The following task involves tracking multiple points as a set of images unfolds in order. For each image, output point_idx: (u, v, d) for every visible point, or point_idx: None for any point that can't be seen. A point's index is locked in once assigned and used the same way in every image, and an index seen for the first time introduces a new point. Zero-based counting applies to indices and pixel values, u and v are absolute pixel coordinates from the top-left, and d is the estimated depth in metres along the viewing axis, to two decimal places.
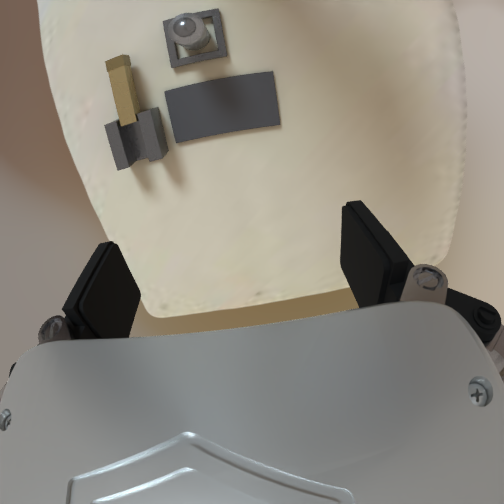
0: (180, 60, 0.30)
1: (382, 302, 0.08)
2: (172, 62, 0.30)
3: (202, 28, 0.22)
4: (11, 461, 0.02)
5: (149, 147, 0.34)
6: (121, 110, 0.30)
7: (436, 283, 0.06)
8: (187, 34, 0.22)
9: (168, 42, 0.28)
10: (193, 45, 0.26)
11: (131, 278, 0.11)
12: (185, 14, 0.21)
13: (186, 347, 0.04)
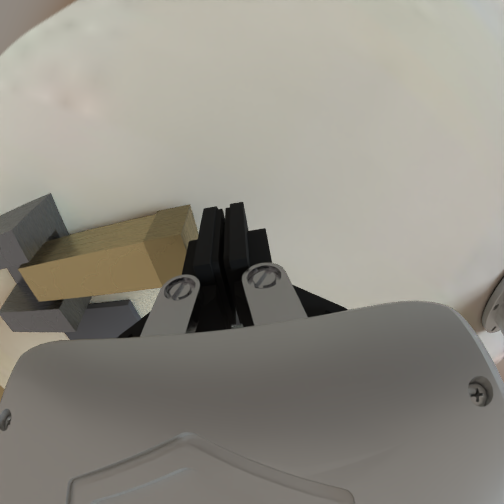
0: None
1: None
2: None
3: None
4: (11, 461, 0.02)
5: (16, 317, 0.13)
6: (46, 273, 0.11)
7: (273, 276, 0.08)
8: None
9: None
10: None
11: None
12: None
13: (186, 347, 0.04)
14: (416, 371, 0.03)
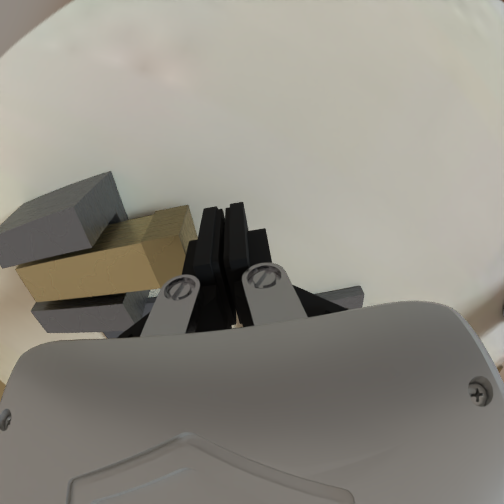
0: None
1: None
2: None
3: None
4: (11, 461, 0.02)
5: (55, 316, 0.12)
6: (44, 274, 0.11)
7: (274, 276, 0.08)
8: None
9: None
10: None
11: None
12: None
13: (186, 347, 0.04)
14: (416, 371, 0.03)
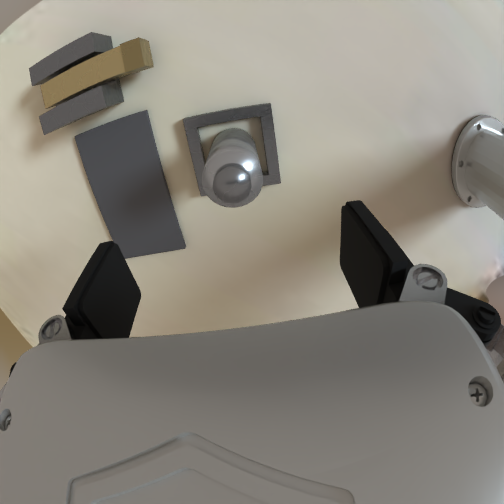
0: (194, 132, 0.22)
1: (381, 302, 0.08)
2: (190, 121, 0.22)
3: (229, 205, 0.19)
4: (11, 461, 0.02)
5: (55, 113, 0.17)
6: (59, 81, 0.15)
7: (436, 283, 0.06)
8: (215, 192, 0.17)
9: (229, 112, 0.22)
10: None
11: (132, 278, 0.11)
12: (260, 179, 0.18)
13: (186, 347, 0.04)
14: (416, 371, 0.03)
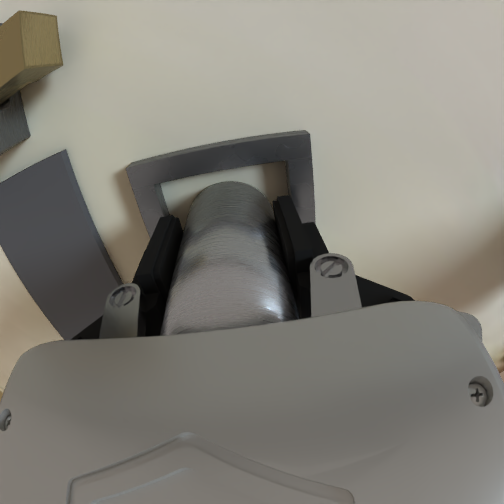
0: (150, 194, 0.11)
1: (296, 290, 0.09)
2: (141, 172, 0.11)
3: None
4: (11, 461, 0.02)
5: None
6: None
7: (341, 268, 0.08)
8: None
9: (220, 152, 0.10)
10: None
11: None
12: None
13: (186, 347, 0.04)
14: (416, 371, 0.03)
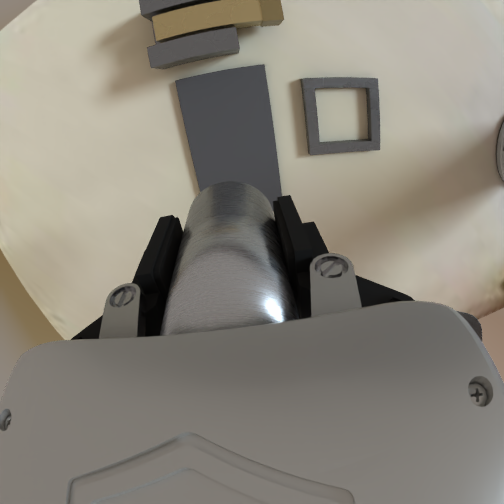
0: (312, 92, 0.22)
1: (296, 290, 0.09)
2: (310, 81, 0.21)
3: None
4: (11, 461, 0.02)
5: (171, 46, 0.16)
6: (179, 15, 0.15)
7: (341, 268, 0.08)
8: None
9: (344, 80, 0.21)
10: None
11: None
12: None
13: (186, 347, 0.04)
14: (416, 371, 0.03)
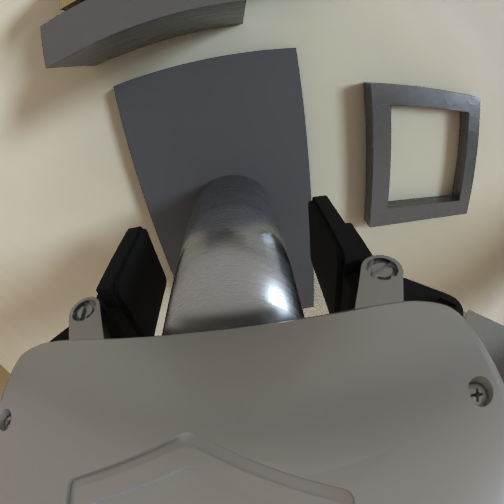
0: (385, 112, 0.11)
1: (340, 292, 0.08)
2: (383, 90, 0.10)
3: None
4: (11, 461, 0.02)
5: (86, 12, 0.05)
6: None
7: (391, 271, 0.07)
8: None
9: (437, 94, 0.10)
10: None
11: (158, 264, 0.12)
12: None
13: (186, 347, 0.04)
14: (416, 371, 0.03)
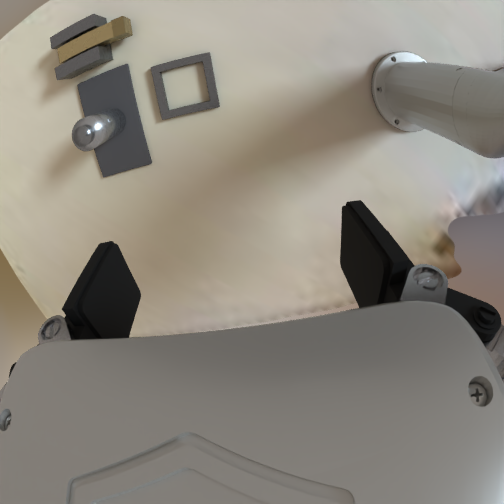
0: (158, 75, 0.28)
1: (382, 302, 0.08)
2: (156, 68, 0.28)
3: (87, 150, 0.26)
4: (11, 461, 0.02)
5: (66, 65, 0.23)
6: (70, 45, 0.21)
7: (436, 283, 0.06)
8: (75, 141, 0.24)
9: (181, 60, 0.28)
10: None
11: (131, 278, 0.11)
12: (99, 130, 0.25)
13: (186, 347, 0.04)
14: (416, 371, 0.03)
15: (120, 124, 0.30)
